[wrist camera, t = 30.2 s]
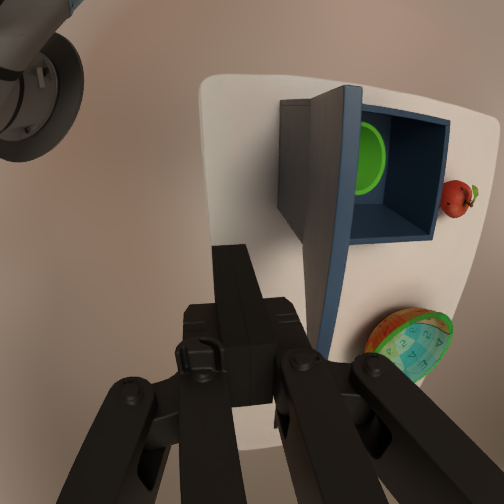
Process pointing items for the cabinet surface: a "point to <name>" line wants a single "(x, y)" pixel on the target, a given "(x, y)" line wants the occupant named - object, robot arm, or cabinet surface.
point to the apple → (457, 198)
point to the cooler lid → (329, 206)
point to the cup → (369, 159)
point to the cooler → (392, 180)
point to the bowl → (412, 340)
